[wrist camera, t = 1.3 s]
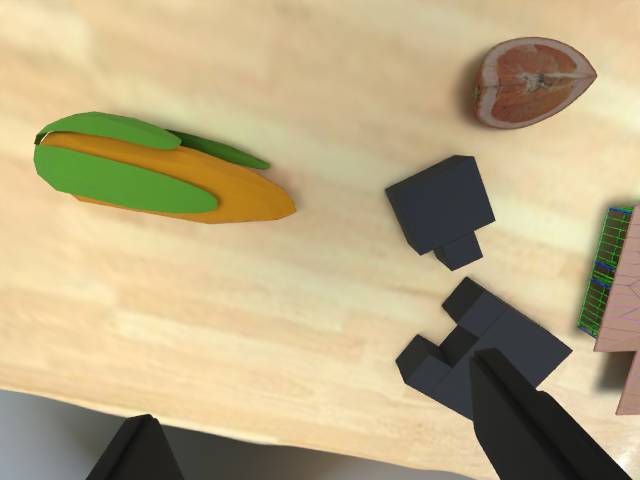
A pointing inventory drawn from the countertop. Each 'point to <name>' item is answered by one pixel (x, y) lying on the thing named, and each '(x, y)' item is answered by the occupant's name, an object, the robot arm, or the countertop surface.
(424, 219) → the tab pad
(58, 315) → the countertop surface
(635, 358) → the house
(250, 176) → the corn
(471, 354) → the notch pad
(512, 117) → the fruit slice
